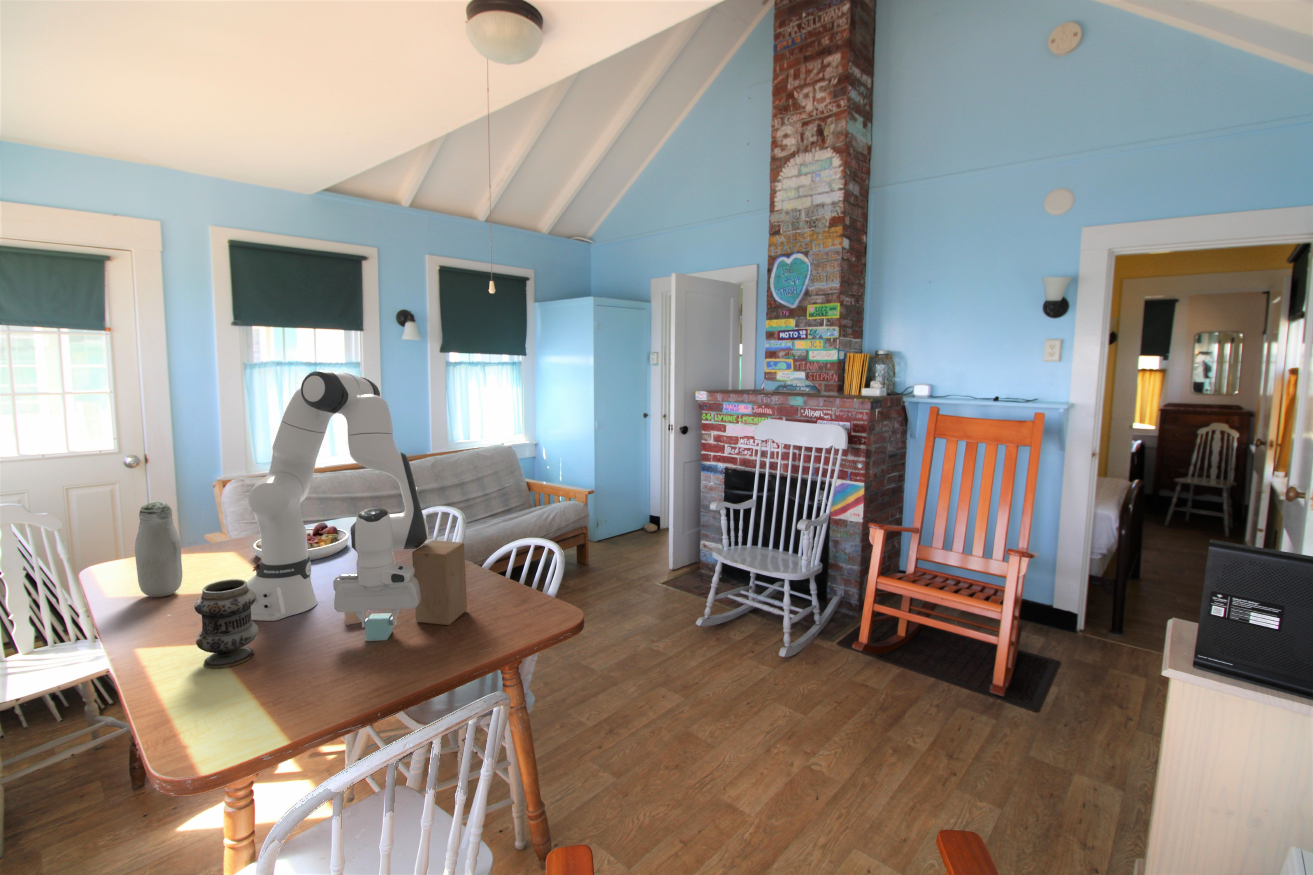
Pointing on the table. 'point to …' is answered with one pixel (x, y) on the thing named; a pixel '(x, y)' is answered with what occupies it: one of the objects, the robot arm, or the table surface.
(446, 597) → the wooden block
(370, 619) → the teal cube
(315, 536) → the bowl
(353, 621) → the clay block
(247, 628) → the apothecary jar
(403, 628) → the table surface
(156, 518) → the grey rounded bottle
